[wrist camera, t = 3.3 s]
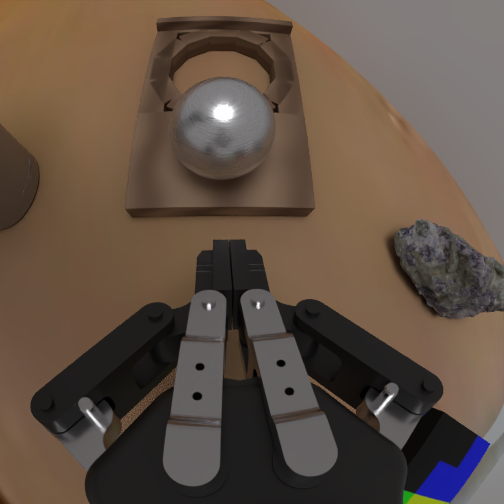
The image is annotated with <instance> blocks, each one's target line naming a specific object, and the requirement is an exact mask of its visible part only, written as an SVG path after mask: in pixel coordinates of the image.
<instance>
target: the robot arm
mask: <svg viewBox="0 0 504 504" xmlns="http://www.w3.org/2000/svg"><path fill="white" fill-rule="evenodd" d="M38 180H39V169H38V165H37V162H36V160H35V158H34V157H33V156H32V155H31V154H30V153H29V152H28V151H27V150H26V149H25V148H24V147H23V146H22V145H21V144H20V143H19V142H18V141H17V140H16V139H15V138H14V137H13V136H12V135H11V134H10V133H9V132H8V131H7V130H6V129H5V128H4V127H3V126H2V125H1V124H0V229H5V228H8V227H10V226H12V225H14V224H15V223H16V222H17V221H19V220H20V219H21V218H22V217H23V215H24V214H25V213H26V211H27V210H28V208H29V206H30V205H31V203H32V201H33V198H34V196H35V194H36V190H37V186H38ZM232 322H233V329H238V331H239V348H240V354H241V359H242V364H243V369H244V373H245V379H246V380H242V381H238V380H232V379H226V378H225V377H226V342H227V340H228V330H232ZM176 366H177V371H176V378H175V385H174V387H172V388H170V389H168V390H166V391H164V392H163V393H162V394H160V395H159V396H158V397H157V398H156V399H155V400H154V401H153V402H152V403H151V404H150V405H149V406H148V407H147V408H146V409H145V410H144V411H143V412H142V414H141V415H140V416H139V417H138V418H137V419H136V420H135V421H134V422H133V423H132V424H131V425H130V426H129V427H128V428H127V429H126V430H125V431H124V432H123V433H122V434H121V435H120V433H121V429H122V425H121V421H120V420H121V419H122V418H123V417H124V416H125V415H126V414H127V413H128V412H129V411H130V410H131V409H132V408H133V407H134V406H136V405H137V404H138V403H139V402H140V401H141V400H142V399H143V398H144V397H145V396H146V395H147V394H148V393H149V392H150V391H151V390H152V389H153V388H154V387H155V386H157V385H158V384H159V383H160V382H161V381H162V380H163V379H164V378H165V377H166V376H167V375H168V374H169V373H170V372H171V371H172V370H173V369H174V368H175V367H176ZM307 374H308V375H309V376H310V377H312V378H313V379H314V380H316V381H317V382H318V383H320V384H321V385H322V386H324V387H325V388H326V389H328V390H329V391H331V392H332V393H333V394H335V395H336V396H338V397H339V398H340V399H342V400H343V401H344V402H346V403H347V404H349V405H350V406H352V407H353V408H354V409H356V415H355V414H354V413H353V412H351V411H350V410H349V409H347V408H346V407H345V406H344V405H342V404H341V403H340V402H338V401H337V400H336V399H334V398H333V397H332V396H331V395H329V394H328V393H327V392H326V391H324V390H323V389H322V388H320V387H318V386H317V385H315V384H313V383H311V382H310V380H309V377H308V375H307ZM442 395H443V385H442V383H441V381H440V379H439V378H438V377H437V376H436V375H434V374H433V373H431V372H429V371H428V370H426V369H425V368H423V367H422V366H420V365H418V364H417V363H415V362H414V361H412V360H411V359H409V358H408V357H406V356H404V355H403V354H401V353H400V352H398V351H397V350H395V349H393V348H392V347H390V346H389V345H387V344H386V343H384V342H383V341H381V340H379V339H378V338H376V337H375V336H373V335H372V334H370V333H368V332H367V331H365V330H364V329H362V328H361V327H359V326H358V325H356V324H354V323H353V322H351V321H350V320H348V319H347V318H345V317H344V316H342V315H340V314H339V313H337V312H336V311H334V310H333V309H331V308H330V307H328V306H326V305H325V304H323V303H322V302H320V301H317V300H313V299H306V300H303V301H300V302H299V303H298V304H297V305H296V306H290V305H286V304H282V303H280V302H278V301H276V300H275V298H274V296H273V295H272V294H271V293H270V291H269V286H268V282H267V277H266V273H265V268H264V265H263V259H262V256H261V255H260V254H259V253H258V252H257V250H246V244H245V240H229V242H228V240H213V250H206V251H201V253H200V254H199V255H198V257H197V268H196V283H195V295H194V296H193V298H192V300H191V302H190V303H188V304H187V305H185V306H183V307H180V308H176V309H171V307H170V306H168V305H167V304H164V303H160V302H155V303H150V304H148V305H146V306H144V307H143V308H141V309H140V310H139V311H138V312H136V313H135V314H134V315H132V316H131V317H130V318H129V319H127V320H126V321H125V322H123V323H122V324H121V325H120V326H118V327H117V328H116V329H115V330H113V331H112V332H111V333H109V334H108V335H107V336H106V337H104V338H103V339H102V340H101V341H99V342H98V343H97V344H96V345H94V346H93V347H92V348H91V349H89V350H88V351H87V352H86V353H84V354H83V355H82V356H81V357H79V358H78V359H77V360H76V361H74V362H73V363H72V364H71V365H69V366H68V367H67V368H66V369H64V370H63V371H62V372H61V373H59V374H58V375H57V376H56V377H55V378H53V379H52V380H51V381H50V382H48V383H47V384H46V385H45V386H44V387H42V388H41V389H40V390H39V391H37V392H36V393H35V395H34V396H33V398H32V400H31V412H32V414H33V416H34V417H35V418H36V419H37V420H38V421H39V422H40V423H41V424H42V425H43V426H44V427H45V428H46V429H47V430H48V431H49V432H50V433H51V434H52V435H53V436H55V437H56V438H57V439H58V440H59V441H61V442H62V444H63V445H64V446H65V447H66V448H67V450H68V451H69V452H70V453H71V454H72V456H73V457H74V458H75V459H76V460H77V461H78V462H79V463H80V465H81V466H82V467H83V468H84V469H85V470H86V471H87V474H86V478H85V491H86V496H87V499H88V501H89V503H90V504H403V493H404V486H405V482H406V478H407V462H406V458H405V456H404V454H403V452H402V451H401V450H402V448H403V446H404V445H405V443H406V442H407V440H408V438H409V437H410V435H411V433H412V432H413V430H414V428H415V427H416V425H417V423H418V421H419V420H420V418H421V417H422V416H423V415H424V414H425V413H426V412H427V411H428V410H430V409H431V408H432V407H433V406H434V405H435V404H436V403H437V402H438V401H439V400H440V398H441V397H442ZM119 435H120V436H119Z"/></svg>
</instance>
